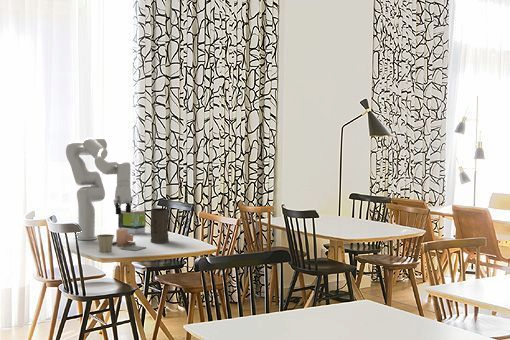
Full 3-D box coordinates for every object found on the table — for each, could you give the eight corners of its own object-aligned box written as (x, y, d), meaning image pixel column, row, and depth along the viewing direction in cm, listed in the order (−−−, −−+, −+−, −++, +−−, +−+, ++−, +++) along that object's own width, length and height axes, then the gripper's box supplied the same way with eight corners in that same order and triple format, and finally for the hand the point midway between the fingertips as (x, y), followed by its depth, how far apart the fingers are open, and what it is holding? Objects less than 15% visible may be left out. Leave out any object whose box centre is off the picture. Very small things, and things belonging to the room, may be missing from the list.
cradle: (109, 245, 364) (109, 242, 364) (120, 243, 373) (120, 240, 373) (125, 247, 360) (125, 244, 360) (135, 244, 369) (135, 242, 368)
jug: (114, 245, 364) (114, 230, 364) (120, 244, 370) (120, 228, 370) (128, 247, 360) (129, 231, 360) (135, 245, 366) (135, 230, 365)
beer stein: (164, 244, 372) (165, 210, 371) (147, 243, 375) (147, 209, 373) (173, 240, 387) (173, 207, 386) (156, 239, 390) (157, 206, 389)
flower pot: (98, 249, 351) (98, 234, 350) (115, 249, 352) (115, 234, 351) (95, 252, 342) (95, 236, 341) (113, 252, 342) (113, 236, 342)
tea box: (145, 232, 414) (145, 210, 413) (134, 234, 405) (134, 211, 404) (128, 230, 422) (128, 208, 421) (117, 232, 413) (117, 209, 412)
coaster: (120, 249, 353) (120, 248, 353) (131, 246, 362) (131, 245, 362) (135, 250, 349) (135, 249, 349) (146, 248, 358) (146, 247, 358)
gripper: (126, 182, 373) (126, 211, 374) (109, 184, 358) (108, 214, 358) (137, 183, 370) (137, 212, 371) (120, 185, 355) (119, 215, 356)
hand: (123, 213), depth 365 cm, fingers open, 9 cm apart
